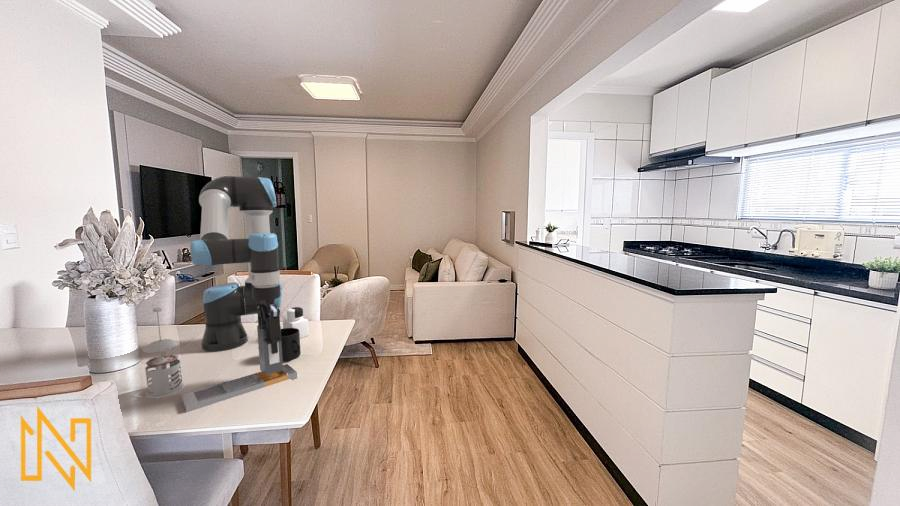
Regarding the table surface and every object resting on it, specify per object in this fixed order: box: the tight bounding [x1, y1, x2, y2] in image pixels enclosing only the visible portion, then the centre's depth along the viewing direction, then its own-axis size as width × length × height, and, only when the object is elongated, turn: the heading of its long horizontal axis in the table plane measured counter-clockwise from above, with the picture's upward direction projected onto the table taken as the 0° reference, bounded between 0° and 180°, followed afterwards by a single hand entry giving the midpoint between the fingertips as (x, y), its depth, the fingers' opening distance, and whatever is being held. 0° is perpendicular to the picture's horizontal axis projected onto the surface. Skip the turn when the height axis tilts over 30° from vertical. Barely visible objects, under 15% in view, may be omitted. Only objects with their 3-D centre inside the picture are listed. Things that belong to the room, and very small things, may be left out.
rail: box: [180, 363, 298, 413], centre depth 103 cm, size 8×28×2 cm, turn 134°
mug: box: [281, 327, 301, 363], centre depth 125 cm, size 9×12×9 cm
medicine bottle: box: [282, 306, 310, 339], centre depth 145 cm, size 7×7×12 cm
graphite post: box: [256, 324, 284, 375], centre depth 108 cm, size 5×5×14 cm
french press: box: [142, 306, 186, 399], centre depth 101 cm, size 10×12×25 cm
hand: (271, 359), depth 108 cm, fingers closed on graphite post, 5 cm apart
